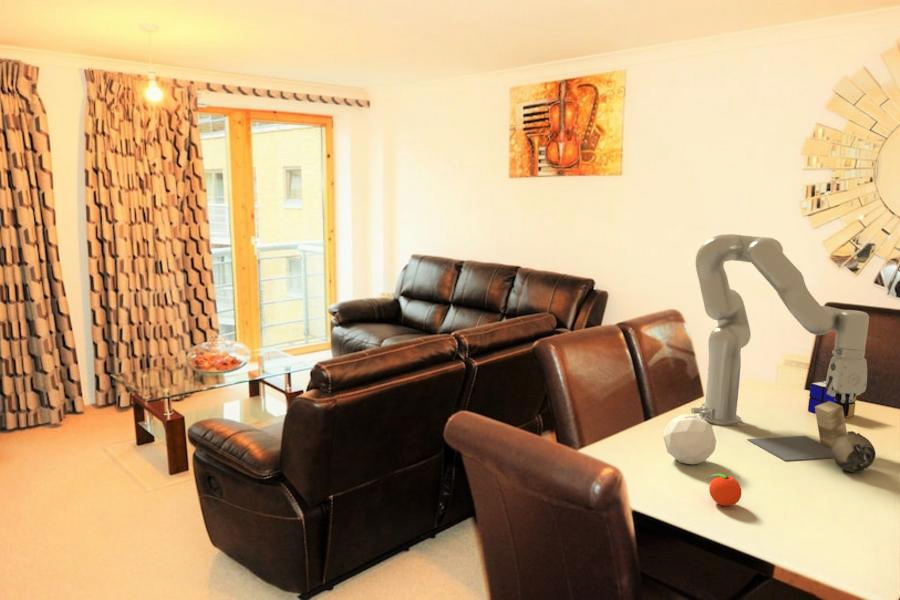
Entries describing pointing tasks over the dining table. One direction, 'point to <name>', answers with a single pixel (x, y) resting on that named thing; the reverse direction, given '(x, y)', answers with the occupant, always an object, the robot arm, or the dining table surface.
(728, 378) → the robot arm
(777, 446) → the mat
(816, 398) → the puzzle cube
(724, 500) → the clementine
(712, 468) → the dining table surface
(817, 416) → the oak block
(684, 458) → the geodesic sphere
